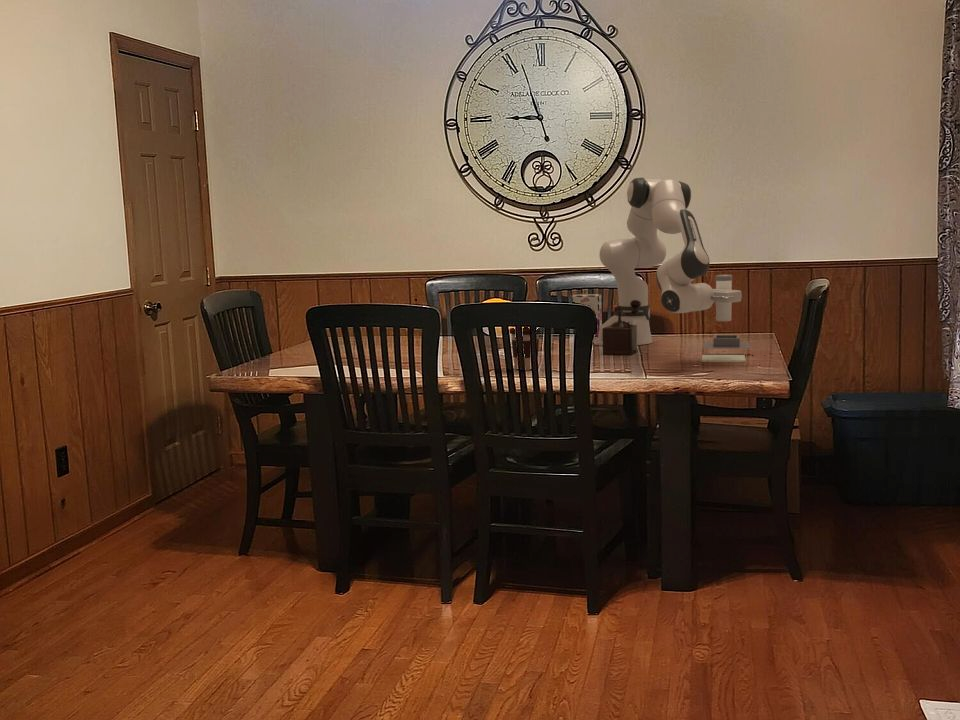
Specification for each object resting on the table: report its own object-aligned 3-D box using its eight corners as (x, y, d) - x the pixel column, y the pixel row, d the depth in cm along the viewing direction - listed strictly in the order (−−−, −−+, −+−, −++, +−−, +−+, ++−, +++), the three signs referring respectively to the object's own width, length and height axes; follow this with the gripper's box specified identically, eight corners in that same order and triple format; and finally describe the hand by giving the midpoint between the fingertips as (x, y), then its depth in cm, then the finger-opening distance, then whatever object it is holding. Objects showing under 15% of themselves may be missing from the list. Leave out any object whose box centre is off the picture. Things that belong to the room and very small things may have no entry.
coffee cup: (509, 367, 348) (508, 322, 345) (539, 365, 348) (538, 321, 346) (512, 372, 338) (511, 325, 336) (542, 370, 339) (541, 324, 336)
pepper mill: (632, 355, 364) (632, 304, 361) (602, 354, 368) (601, 303, 366) (642, 348, 378) (642, 299, 376) (613, 348, 383) (612, 299, 380)
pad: (701, 362, 346) (701, 360, 346) (702, 355, 359) (702, 353, 359) (745, 362, 343) (745, 360, 343) (744, 355, 356) (744, 353, 356)
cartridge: (713, 321, 348) (713, 275, 346) (717, 319, 353) (718, 274, 350) (729, 321, 345) (729, 276, 343) (733, 319, 350) (734, 274, 348)
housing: (703, 351, 369) (703, 339, 368) (704, 344, 384) (704, 333, 384) (750, 351, 365) (750, 339, 365) (749, 344, 381) (749, 333, 380)
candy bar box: (602, 334, 418) (602, 294, 416) (599, 336, 414) (599, 295, 411) (575, 334, 422) (574, 293, 419) (572, 336, 417) (571, 295, 415)
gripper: (727, 288, 331) (752, 285, 340) (675, 285, 346) (700, 282, 355) (727, 308, 332) (752, 304, 341) (675, 304, 347) (700, 301, 356)
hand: (725, 293), depth 348 cm, fingers closed on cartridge, 5 cm apart
